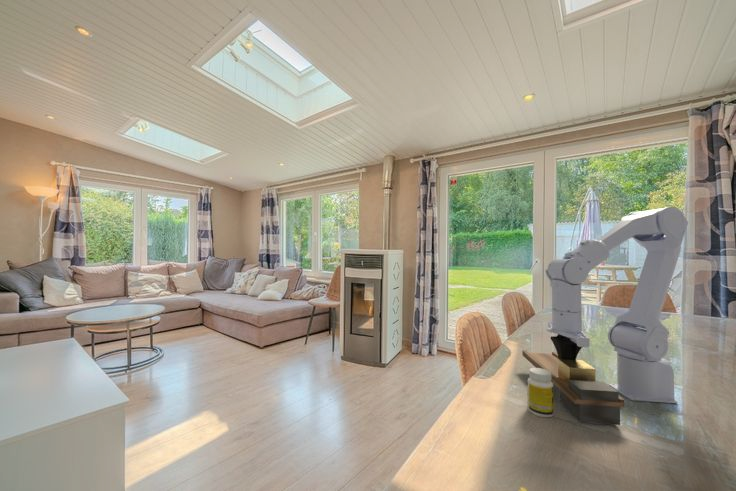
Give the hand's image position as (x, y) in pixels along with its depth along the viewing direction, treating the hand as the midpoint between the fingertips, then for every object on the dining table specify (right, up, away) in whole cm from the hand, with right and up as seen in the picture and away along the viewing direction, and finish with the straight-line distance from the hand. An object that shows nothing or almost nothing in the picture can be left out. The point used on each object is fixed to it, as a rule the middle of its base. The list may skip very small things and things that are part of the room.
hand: (567, 369), depth 70 cm
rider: (0, -1, -4) cm, 4 cm away
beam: (0, -6, +2) cm, 6 cm away
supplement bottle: (-10, -6, -7) cm, 14 cm away
